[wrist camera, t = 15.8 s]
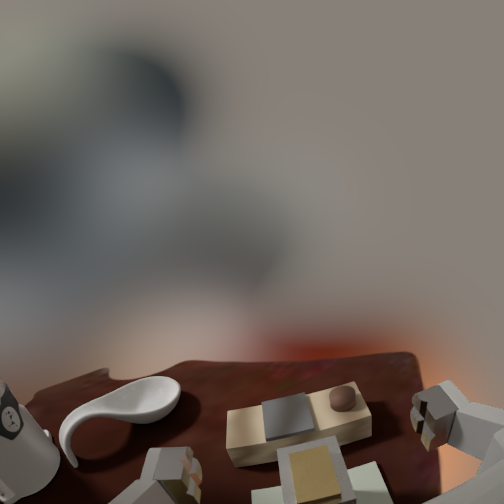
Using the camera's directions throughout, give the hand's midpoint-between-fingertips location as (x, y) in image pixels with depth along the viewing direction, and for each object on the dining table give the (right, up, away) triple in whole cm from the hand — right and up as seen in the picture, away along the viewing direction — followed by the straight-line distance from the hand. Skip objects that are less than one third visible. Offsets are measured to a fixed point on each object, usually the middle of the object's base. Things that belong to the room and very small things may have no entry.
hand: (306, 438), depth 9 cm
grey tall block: (+5, -20, +12) cm, 24 cm away
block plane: (+4, -17, +26) cm, 31 cm away
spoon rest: (-22, -22, +33) cm, 45 cm away
